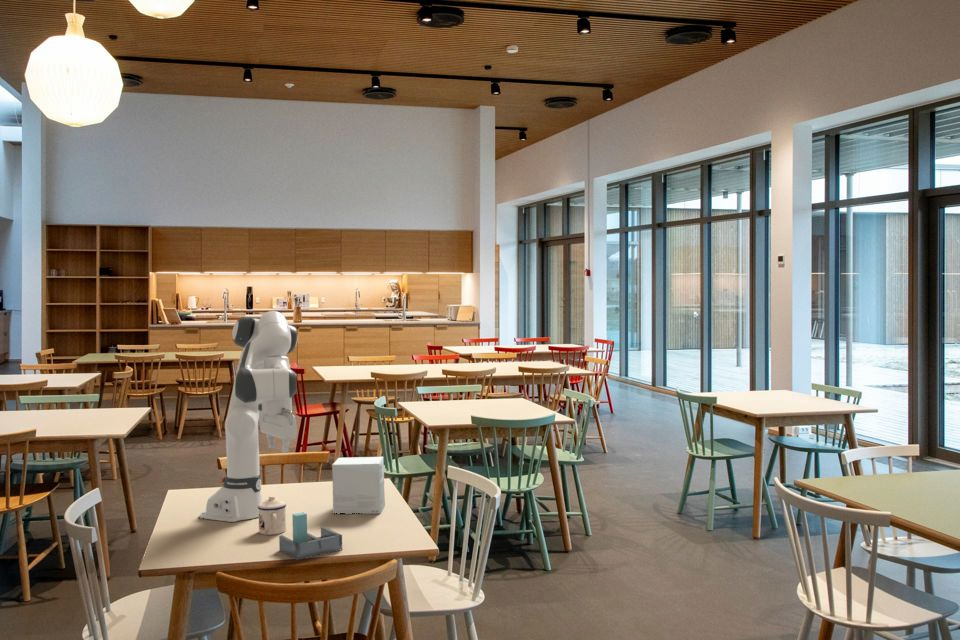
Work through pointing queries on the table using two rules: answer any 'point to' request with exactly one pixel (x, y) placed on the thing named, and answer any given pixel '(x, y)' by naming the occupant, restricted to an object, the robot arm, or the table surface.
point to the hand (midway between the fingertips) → (278, 450)
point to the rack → (311, 544)
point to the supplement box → (358, 485)
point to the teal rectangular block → (299, 527)
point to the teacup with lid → (272, 516)
